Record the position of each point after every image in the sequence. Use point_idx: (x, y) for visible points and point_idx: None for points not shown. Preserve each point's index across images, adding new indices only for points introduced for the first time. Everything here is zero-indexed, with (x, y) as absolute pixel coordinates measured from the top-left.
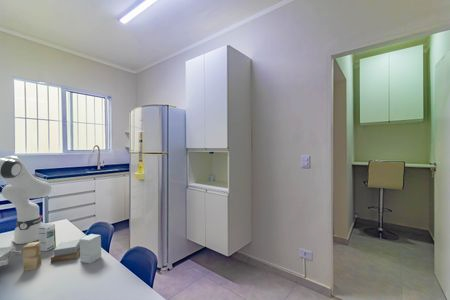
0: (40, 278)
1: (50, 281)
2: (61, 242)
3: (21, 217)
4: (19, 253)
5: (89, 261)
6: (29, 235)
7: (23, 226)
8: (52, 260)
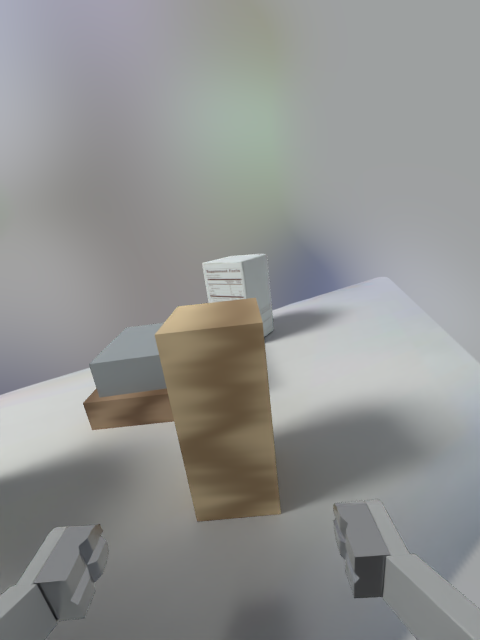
0: (367, 387)
1: (381, 357)
2: (97, 360)
3: None
4: (102, 538)
5: (272, 324)
6: None
7: None
8: None
